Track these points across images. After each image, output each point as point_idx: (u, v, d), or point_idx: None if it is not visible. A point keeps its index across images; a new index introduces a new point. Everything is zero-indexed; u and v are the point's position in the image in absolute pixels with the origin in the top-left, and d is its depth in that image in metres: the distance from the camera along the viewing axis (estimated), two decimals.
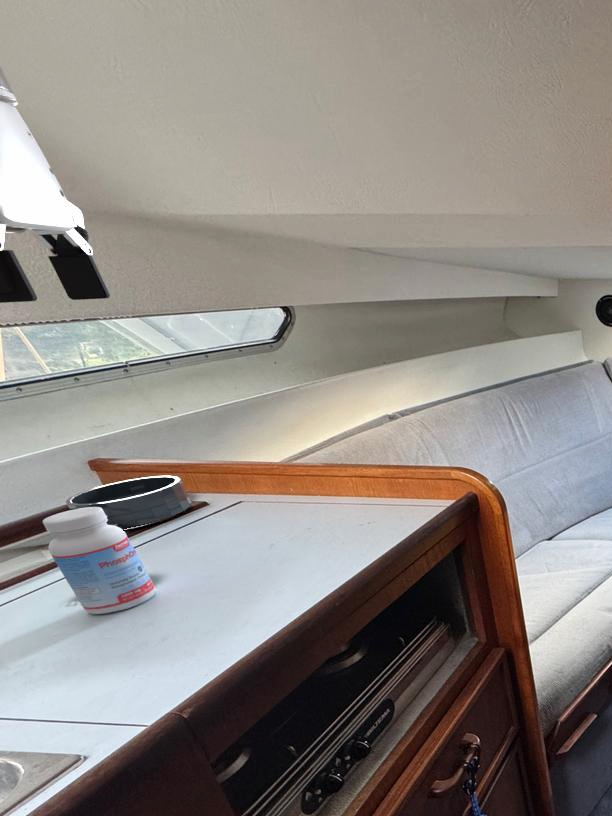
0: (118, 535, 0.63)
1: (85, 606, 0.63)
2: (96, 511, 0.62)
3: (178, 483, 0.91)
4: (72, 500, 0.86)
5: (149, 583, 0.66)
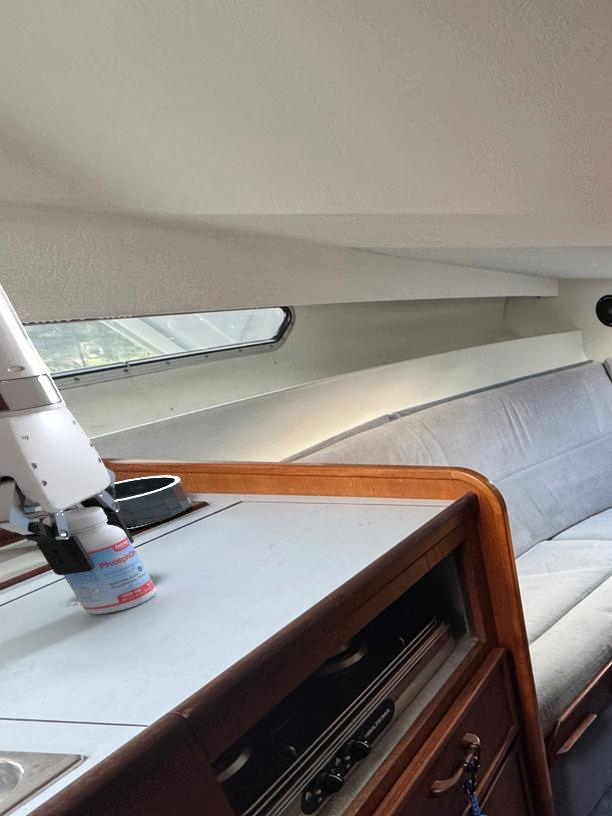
0: (118, 535, 0.63)
1: (85, 606, 0.63)
2: (96, 511, 0.62)
3: (178, 483, 0.91)
4: None
5: (149, 583, 0.66)
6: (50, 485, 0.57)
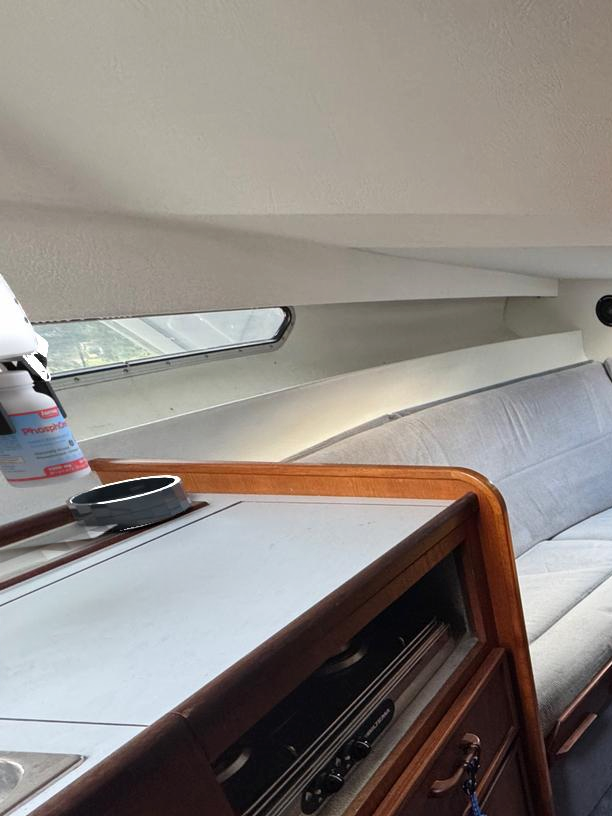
0: (45, 401, 0.58)
1: (8, 478, 0.58)
2: (20, 372, 0.57)
3: (178, 483, 0.91)
4: (72, 500, 0.86)
5: (82, 461, 0.61)
6: None
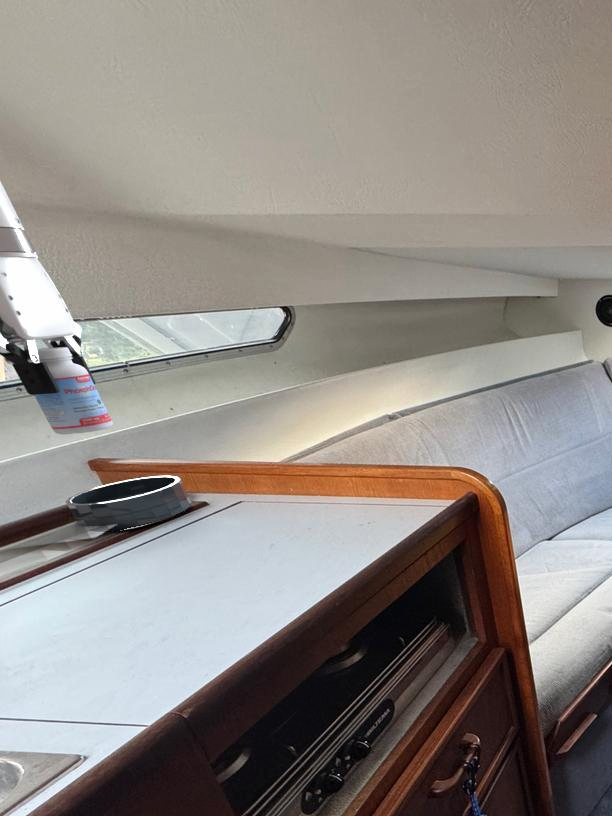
0: (80, 370, 0.78)
1: (53, 426, 0.78)
2: (62, 348, 0.77)
3: (178, 483, 0.91)
4: (72, 500, 0.86)
5: (106, 416, 0.82)
6: (23, 316, 0.72)
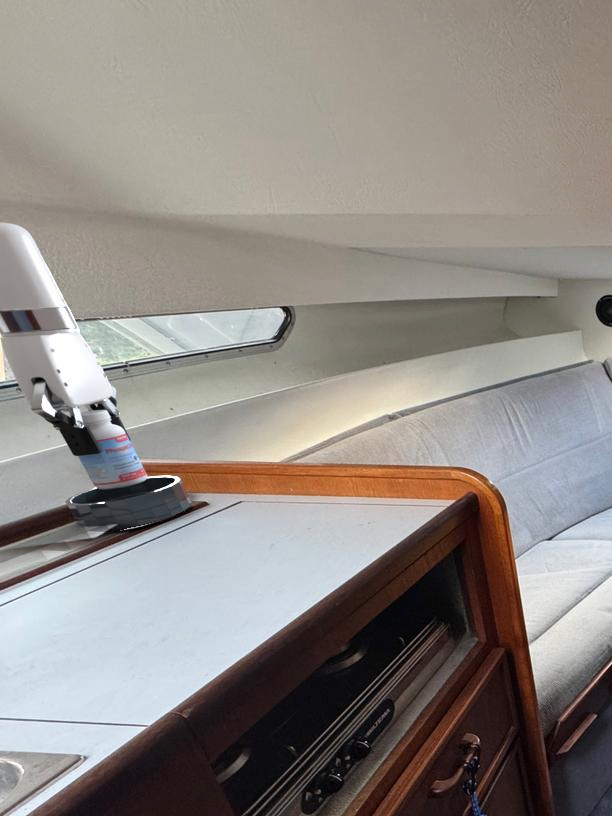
0: (119, 430, 0.86)
1: (95, 483, 0.85)
2: (103, 411, 0.84)
3: (178, 483, 0.91)
4: (72, 500, 0.86)
5: (142, 470, 0.89)
6: (70, 386, 0.79)
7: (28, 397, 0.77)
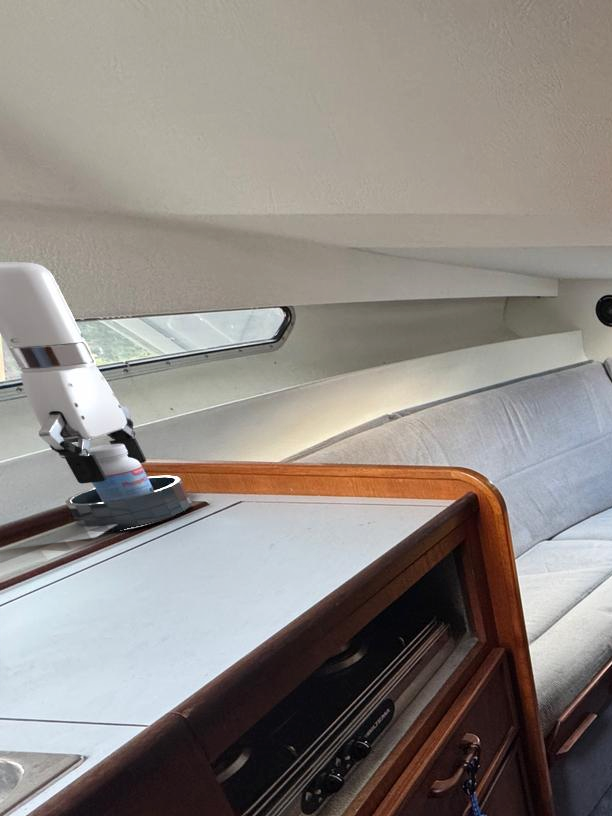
0: (135, 464, 0.88)
1: None
2: (120, 446, 0.87)
3: (178, 483, 0.91)
4: (72, 500, 0.86)
5: None
6: (86, 419, 0.81)
7: None
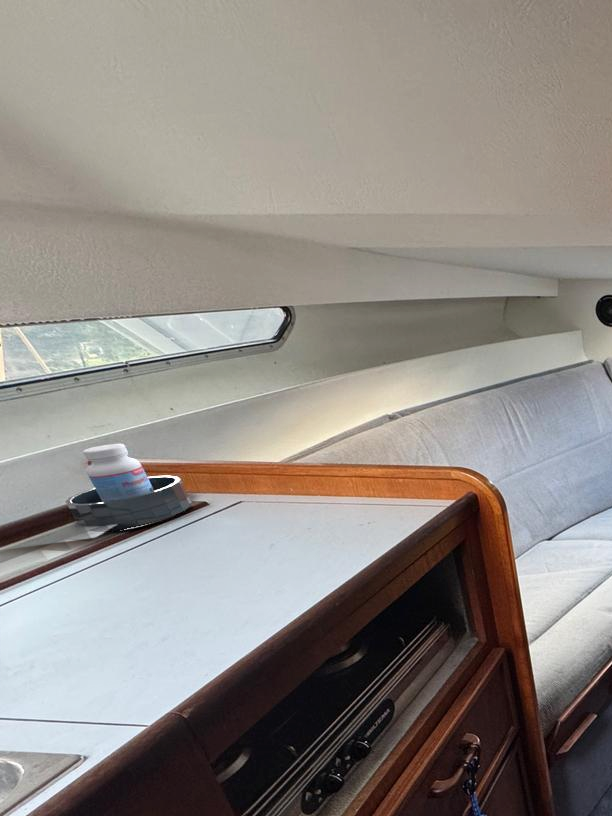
0: (135, 464, 0.88)
1: None
2: (120, 446, 0.87)
3: (178, 483, 0.91)
4: (72, 500, 0.86)
5: None
6: None
7: None
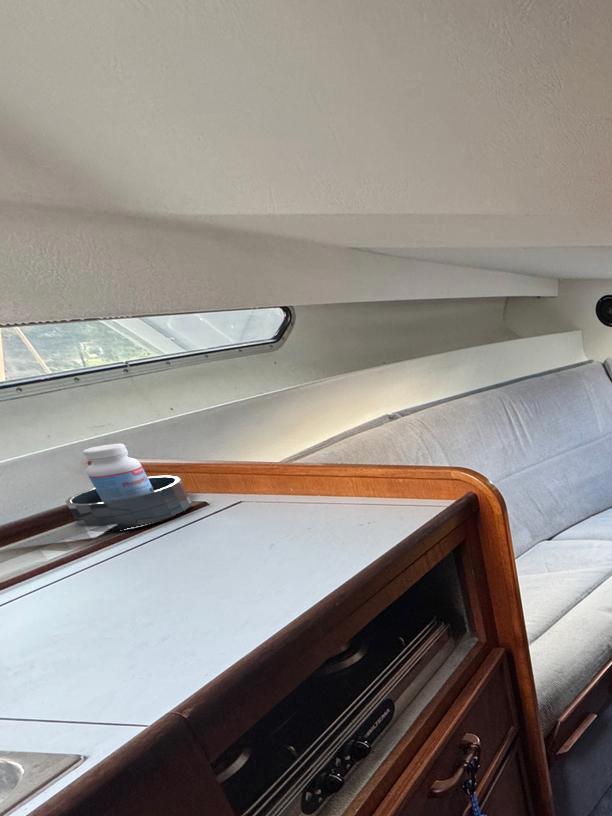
0: (135, 464, 0.88)
1: None
2: (120, 446, 0.87)
3: (178, 483, 0.91)
4: (72, 500, 0.86)
5: None
6: None
7: None
